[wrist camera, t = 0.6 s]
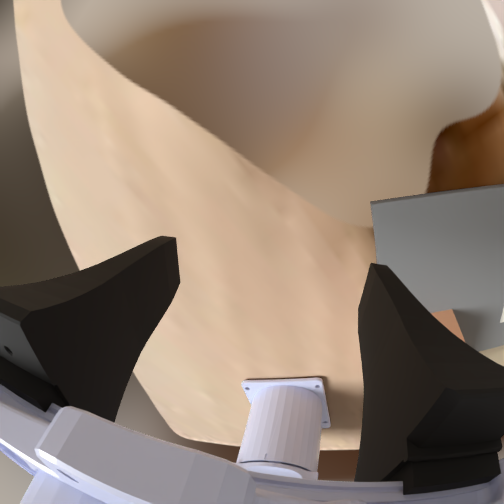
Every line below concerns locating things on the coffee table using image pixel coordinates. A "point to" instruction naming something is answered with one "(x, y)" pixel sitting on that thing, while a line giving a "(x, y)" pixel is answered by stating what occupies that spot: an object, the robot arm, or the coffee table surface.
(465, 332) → the build mat
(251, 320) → the coffee table surface
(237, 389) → the coffee table surface
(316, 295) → the coffee table surface
